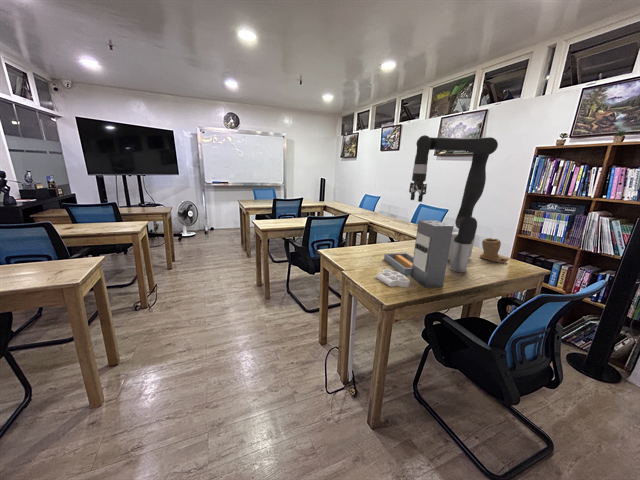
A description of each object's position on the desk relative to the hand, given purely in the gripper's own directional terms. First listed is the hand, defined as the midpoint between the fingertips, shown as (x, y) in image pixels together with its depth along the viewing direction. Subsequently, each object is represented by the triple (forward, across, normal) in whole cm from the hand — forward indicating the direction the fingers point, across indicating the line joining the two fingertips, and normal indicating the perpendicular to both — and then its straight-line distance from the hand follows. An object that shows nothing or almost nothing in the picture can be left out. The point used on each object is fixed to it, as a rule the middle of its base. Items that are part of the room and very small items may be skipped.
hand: (416, 200), depth 150 cm
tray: (+40, -4, +4) cm, 40 cm away
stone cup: (+40, 0, -62) cm, 74 cm away
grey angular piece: (+40, +7, -35) cm, 54 cm away
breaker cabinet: (+40, -27, +4) cm, 48 cm away
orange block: (+39, -3, +4) cm, 40 cm away
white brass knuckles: (+41, -23, +22) cm, 52 cm away
